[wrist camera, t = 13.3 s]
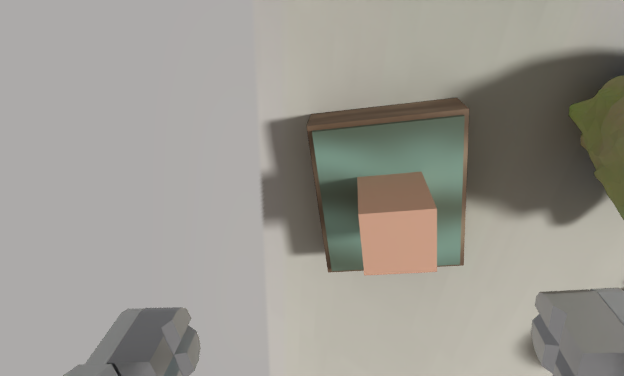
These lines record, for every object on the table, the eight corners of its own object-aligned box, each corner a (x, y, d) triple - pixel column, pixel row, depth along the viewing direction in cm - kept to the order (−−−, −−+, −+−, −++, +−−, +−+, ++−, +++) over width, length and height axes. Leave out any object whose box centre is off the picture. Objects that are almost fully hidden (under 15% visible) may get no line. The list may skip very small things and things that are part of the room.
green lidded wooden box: (311, 114, 33) (306, 127, 29) (457, 97, 31) (470, 110, 27) (330, 249, 38) (327, 275, 35) (453, 242, 37) (464, 268, 33)
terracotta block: (357, 177, 30) (358, 214, 25) (421, 171, 30) (436, 208, 24) (362, 230, 32) (364, 275, 27) (422, 226, 32) (436, 271, 26)
